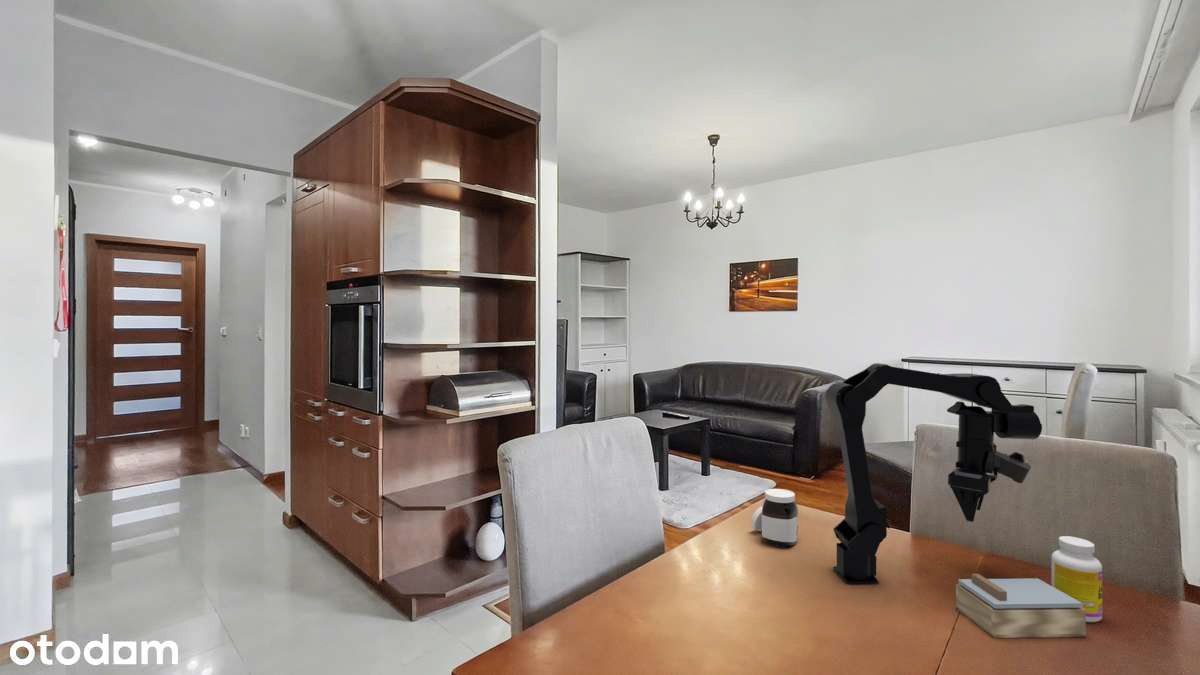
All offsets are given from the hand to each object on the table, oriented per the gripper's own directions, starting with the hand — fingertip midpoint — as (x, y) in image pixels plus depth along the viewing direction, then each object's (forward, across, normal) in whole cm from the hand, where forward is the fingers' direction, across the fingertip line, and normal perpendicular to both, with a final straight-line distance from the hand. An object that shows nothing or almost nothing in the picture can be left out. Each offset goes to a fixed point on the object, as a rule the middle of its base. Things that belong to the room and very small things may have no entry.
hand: (973, 515), depth 103 cm
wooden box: (+13, -12, -8) cm, 20 cm away
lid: (+9, -12, -8) cm, 17 cm away
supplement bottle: (+13, -2, -15) cm, 20 cm away
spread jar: (+14, -5, +39) cm, 42 cm away
